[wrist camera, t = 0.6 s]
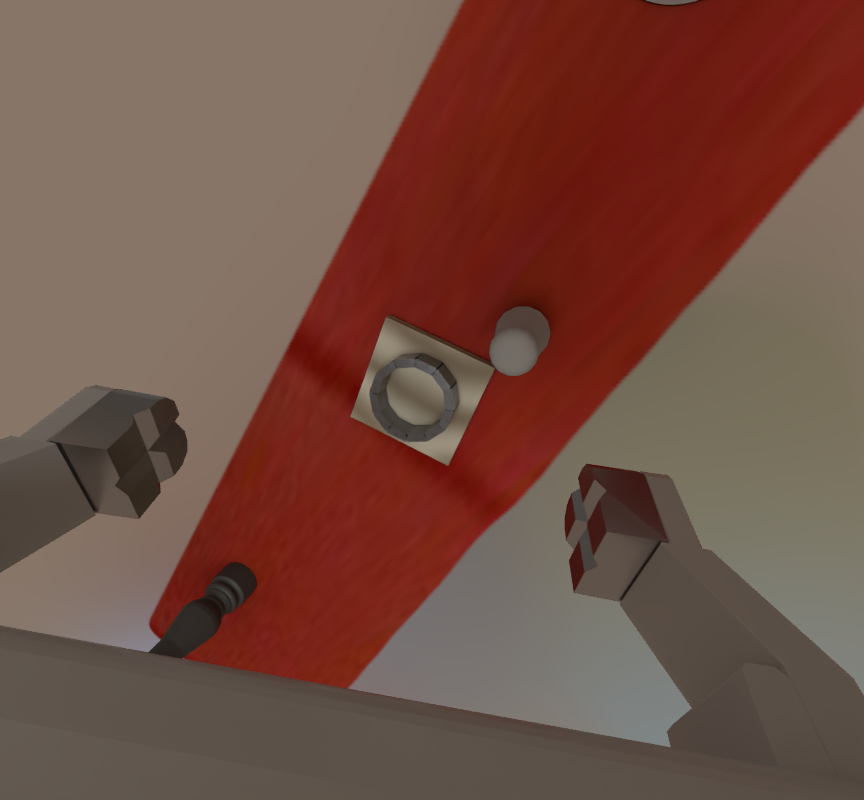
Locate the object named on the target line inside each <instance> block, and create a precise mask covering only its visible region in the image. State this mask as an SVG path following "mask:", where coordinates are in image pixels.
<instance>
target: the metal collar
mask: <svg viewBox="0 0 864 800" xmlns="http://www.w3.org/2000/svg"><path fill="white" fill-rule="evenodd" d="M442 363H443V362H442V361H440V360H437V359H435V358H433V357H431V356H429V355H427V354H425V353H413V354H402V355H400V356H399V357H397V358H396V359H394V360H393V361H391V362H390V363H389V364H387V365H386V366H385V367H383V368H382V369H381V370H379V371H378V372H377V373H376V375H375V377H374V380H373V383H372V386H371V388H370V391H369V392H370V393H369V396H370V402H371V407H372V413H375V414H373V415H374V417H375V418H376V419H377V420H378V422H379V423H380V424H381V426H382V427H383V428H384V430H385V431H387V430H388V431H387V433H389V434H391V435H393V436H395V437H397V438H399V439H401V440H403V441H405V442H406V440H407V442H427V441H429V440H431V439H432V438H434V437H436V436H437V435H439V434H440V433H442V432H444V431H445V430H446V428H447V427H448V425H449V424H450V422H451V420H452V418H453V416H454V414H455V412H456V409H457V407H458V405H459V402H460V401H459V393H458V384H457V382H456V381H457V380H456V379H455V377H454V376H453V375H452V373H451V372H450V371H449V369H448V368H447V366H446V365H445V364H442ZM412 367H415V368H417V369H419V370H421V371H423V372H425V373H427V374H430V375H432V377H433V378H434V379H435V381H436V382H437V383H438V385H439V386H440V388H441V389H442V390H443V395H444V403H445V411H444V413H443V415H442V418H440V419H439V420H437V421H436V422H434V423H433V424H431V425H413V424H411V423H409V422H407V421H405V420H403V419H401V418H399V416H398V415H397V414H396V412H395V411H394V410H393V408H392V407H391V406H390V404H389V401H388V395H387V389H386V386H387V384H388V381H389V379H390V376H391V373H392V372H393V371H394V370H395V369H397V368H412Z"/></svg>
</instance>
